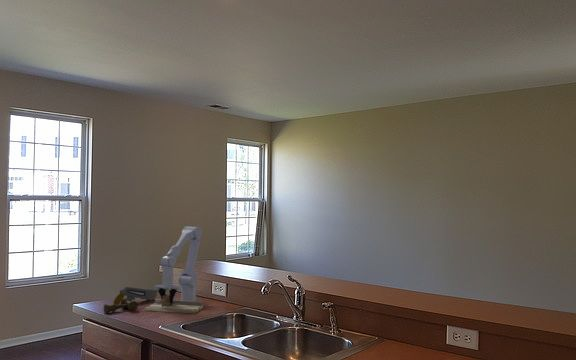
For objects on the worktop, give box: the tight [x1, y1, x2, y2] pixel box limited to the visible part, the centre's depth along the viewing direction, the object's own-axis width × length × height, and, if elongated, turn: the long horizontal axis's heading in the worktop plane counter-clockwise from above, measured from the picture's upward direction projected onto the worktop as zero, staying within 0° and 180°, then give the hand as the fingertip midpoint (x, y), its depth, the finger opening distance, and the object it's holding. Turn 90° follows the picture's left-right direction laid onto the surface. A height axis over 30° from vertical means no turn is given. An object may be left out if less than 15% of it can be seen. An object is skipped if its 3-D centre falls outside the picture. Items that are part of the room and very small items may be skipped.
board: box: [144, 298, 204, 314], centre depth 267 cm, size 13×28×4 cm, turn 79°
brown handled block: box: [160, 293, 173, 307], centre depth 268 cm, size 10×4×6 cm, turn 169°
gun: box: [112, 286, 159, 305], centre depth 283 cm, size 3×25×15 cm, turn 136°
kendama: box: [103, 297, 141, 315], centre depth 263 cm, size 6×10×20 cm
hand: (167, 302), depth 270 cm, fingers closed on brown handled block, 4 cm apart
